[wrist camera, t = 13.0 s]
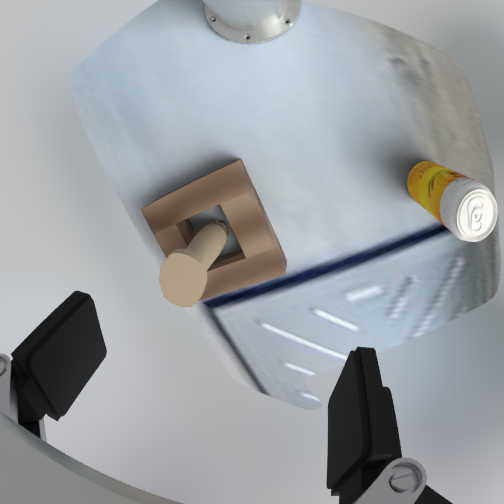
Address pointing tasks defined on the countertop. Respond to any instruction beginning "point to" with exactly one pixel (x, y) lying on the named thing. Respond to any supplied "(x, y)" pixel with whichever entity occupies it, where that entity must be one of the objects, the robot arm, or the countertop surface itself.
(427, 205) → the beer can
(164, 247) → the keyed socket block
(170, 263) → the tan flared peg
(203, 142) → the countertop surface
